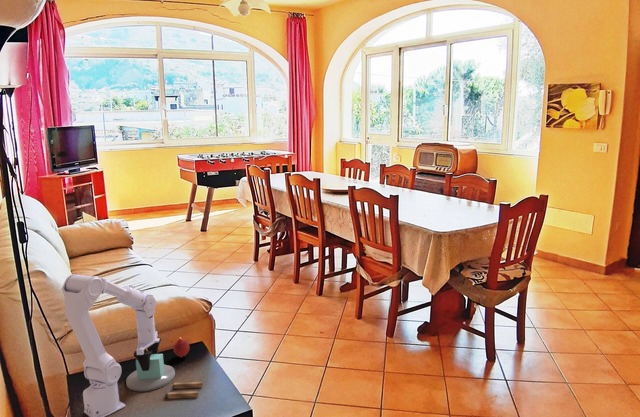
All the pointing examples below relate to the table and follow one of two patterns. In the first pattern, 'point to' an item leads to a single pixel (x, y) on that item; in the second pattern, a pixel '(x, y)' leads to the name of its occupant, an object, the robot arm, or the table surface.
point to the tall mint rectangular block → (152, 368)
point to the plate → (150, 380)
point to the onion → (181, 347)
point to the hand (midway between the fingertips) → (149, 364)
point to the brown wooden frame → (183, 394)
